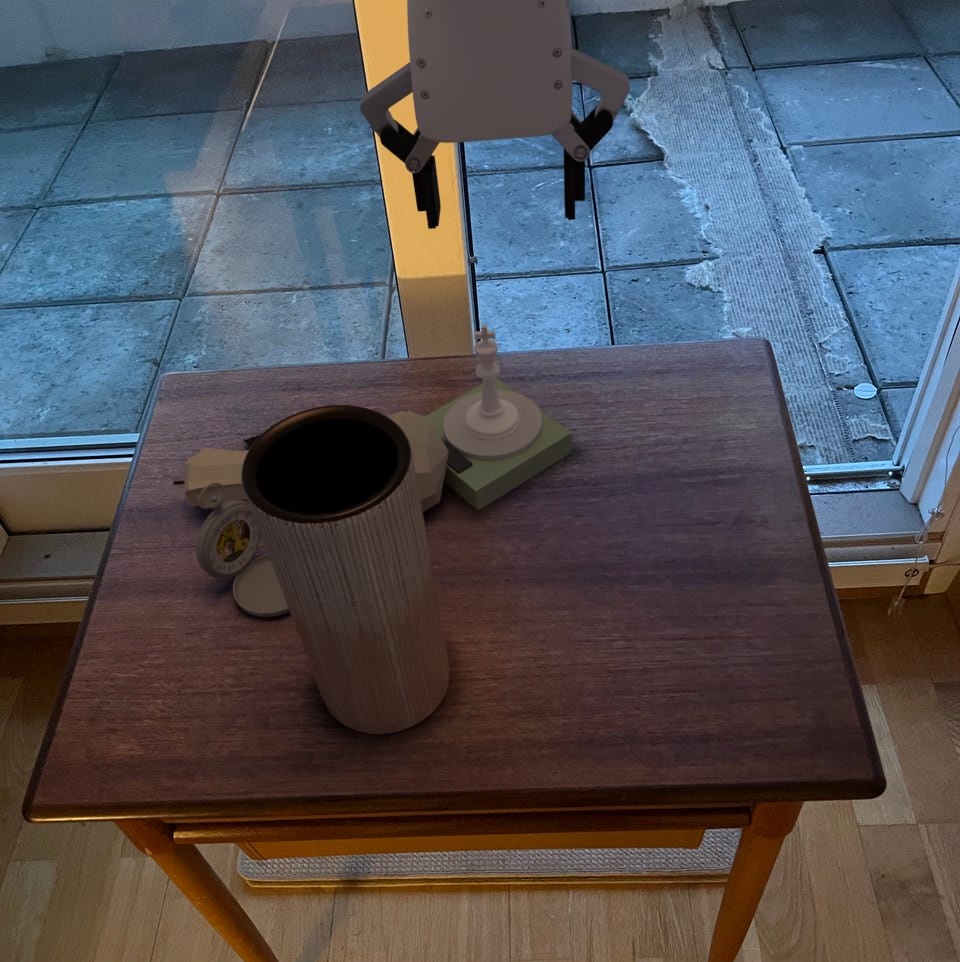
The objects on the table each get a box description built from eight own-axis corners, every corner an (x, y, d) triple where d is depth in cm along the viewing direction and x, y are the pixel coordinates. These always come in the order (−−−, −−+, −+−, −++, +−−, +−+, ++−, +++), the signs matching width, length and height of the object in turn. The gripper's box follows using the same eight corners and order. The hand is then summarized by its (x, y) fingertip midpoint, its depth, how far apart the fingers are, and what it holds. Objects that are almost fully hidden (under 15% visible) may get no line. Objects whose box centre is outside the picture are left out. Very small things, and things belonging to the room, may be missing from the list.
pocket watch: (309, 619, 77) (278, 534, 69) (208, 623, 78) (166, 539, 70) (320, 545, 82) (293, 458, 74) (225, 549, 83) (188, 463, 75)
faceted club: (452, 529, 81) (172, 548, 83) (459, 482, 87) (200, 501, 90) (438, 433, 75) (139, 457, 78) (447, 391, 82) (172, 414, 85)
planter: (316, 740, 70) (228, 527, 52) (326, 633, 76) (250, 408, 58) (451, 732, 70) (409, 514, 52) (450, 625, 76) (412, 396, 58)
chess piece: (466, 405, 87) (455, 309, 79) (519, 403, 87) (514, 307, 79) (463, 441, 84) (452, 346, 76) (519, 439, 84) (513, 343, 76)
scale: (496, 396, 92) (494, 371, 90) (572, 452, 87) (572, 427, 84) (405, 449, 89) (400, 424, 86) (477, 511, 83) (475, 486, 81)
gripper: (631, -111, 55) (621, 179, 69) (339, -84, 57) (386, 195, 70) (639, -67, 51) (627, 235, 64) (322, -38, 52) (376, 251, 66)
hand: (501, 214), depth 67 cm, fingers open, 9 cm apart
